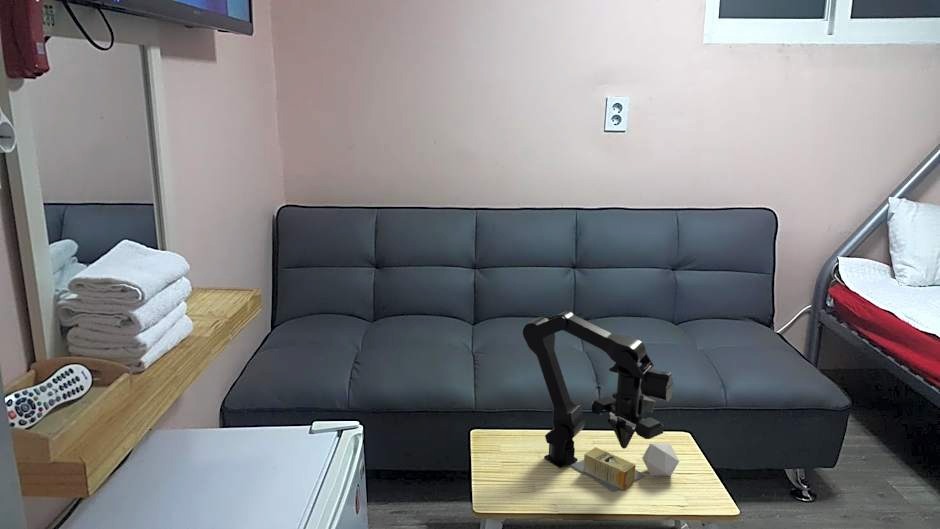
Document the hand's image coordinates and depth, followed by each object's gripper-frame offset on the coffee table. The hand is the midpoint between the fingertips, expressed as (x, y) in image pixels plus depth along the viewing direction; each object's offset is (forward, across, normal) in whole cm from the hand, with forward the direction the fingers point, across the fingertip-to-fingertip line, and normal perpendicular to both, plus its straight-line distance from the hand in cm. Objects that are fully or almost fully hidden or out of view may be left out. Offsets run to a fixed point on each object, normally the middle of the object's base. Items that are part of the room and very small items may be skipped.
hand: (624, 447), depth 178 cm
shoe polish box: (+6, -4, +1) cm, 7 cm away
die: (+9, -4, -10) cm, 14 cm away
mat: (+9, +5, 0) cm, 10 cm away
